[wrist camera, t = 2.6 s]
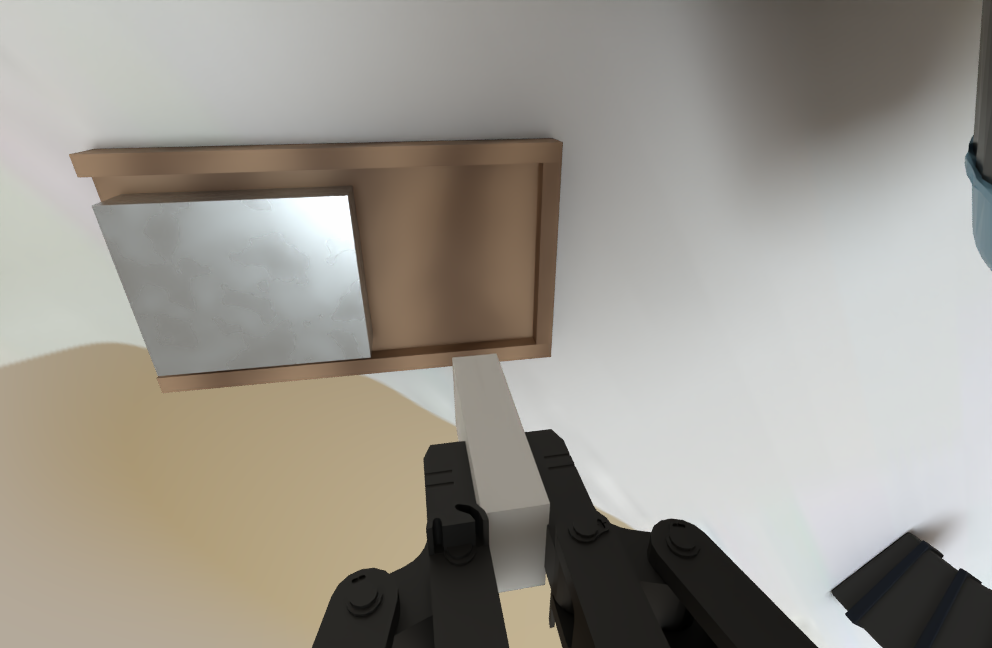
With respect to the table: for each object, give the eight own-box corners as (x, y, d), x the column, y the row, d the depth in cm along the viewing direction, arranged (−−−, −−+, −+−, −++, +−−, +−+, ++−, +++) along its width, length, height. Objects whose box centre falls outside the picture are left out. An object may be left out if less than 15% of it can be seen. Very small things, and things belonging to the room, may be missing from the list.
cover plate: (352, 185, 25) (347, 195, 23) (373, 336, 29) (370, 357, 27) (121, 194, 23) (91, 205, 21) (177, 352, 27) (157, 376, 25)
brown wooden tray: (552, 138, 27) (562, 142, 25) (542, 341, 32) (550, 356, 31) (94, 149, 23) (68, 154, 21) (176, 374, 29) (162, 392, 27)
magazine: (816, 621, 53) (1001, 738, 39) (859, 512, 55) (1050, 587, 41) (833, 629, 55) (1017, 744, 41) (874, 522, 56) (1063, 598, 43)
